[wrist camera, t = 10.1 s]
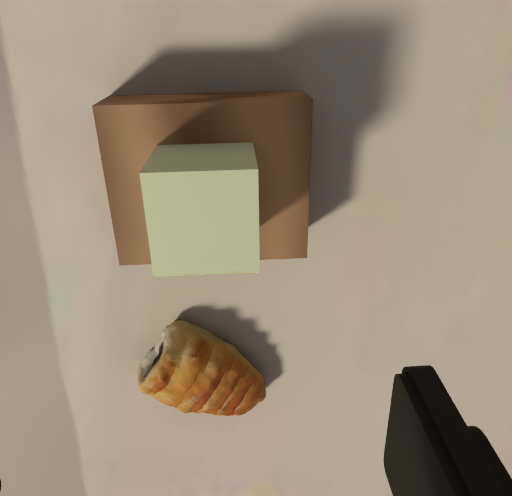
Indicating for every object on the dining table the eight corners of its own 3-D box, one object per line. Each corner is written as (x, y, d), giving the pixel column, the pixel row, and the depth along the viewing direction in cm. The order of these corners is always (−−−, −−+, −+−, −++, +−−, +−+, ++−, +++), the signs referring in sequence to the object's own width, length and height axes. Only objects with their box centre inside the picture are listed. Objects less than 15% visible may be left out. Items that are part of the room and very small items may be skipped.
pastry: (282, 358, 35) (287, 394, 31) (237, 413, 37) (238, 453, 34) (173, 307, 32) (166, 341, 29) (132, 371, 35) (121, 409, 31)
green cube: (252, 142, 24) (258, 169, 19) (254, 229, 26) (260, 272, 21) (156, 145, 23) (139, 173, 19) (166, 233, 26) (153, 276, 21)
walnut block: (301, 89, 26) (312, 99, 23) (297, 230, 30) (306, 257, 27) (111, 94, 26) (92, 105, 22) (132, 236, 30) (119, 265, 26)
